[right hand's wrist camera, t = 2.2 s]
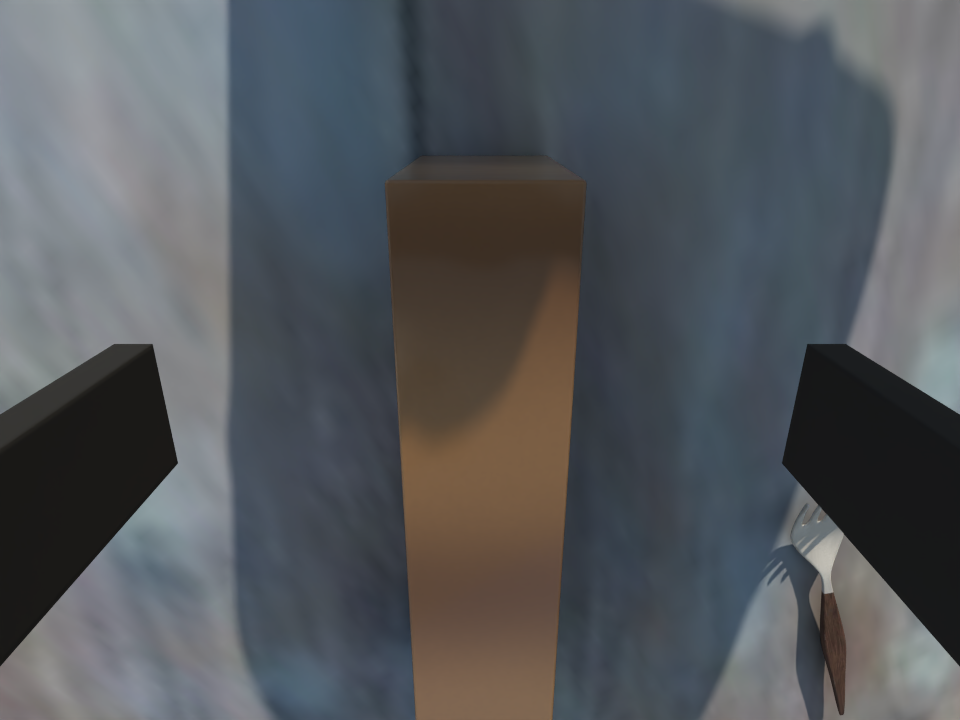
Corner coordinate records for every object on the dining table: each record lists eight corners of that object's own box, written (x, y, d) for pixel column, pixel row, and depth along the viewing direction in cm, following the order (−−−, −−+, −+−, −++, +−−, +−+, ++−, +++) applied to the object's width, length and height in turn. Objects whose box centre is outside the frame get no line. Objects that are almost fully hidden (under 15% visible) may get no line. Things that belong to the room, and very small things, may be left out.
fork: (812, 711, 34) (831, 745, 32) (781, 480, 28) (802, 506, 27) (859, 701, 34) (881, 735, 32) (838, 467, 28) (863, 492, 26)
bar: (419, 155, 23) (384, 180, 15) (548, 155, 23) (587, 179, 15) (437, 656, 33) (422, 843, 25) (528, 656, 33) (544, 844, 25)
